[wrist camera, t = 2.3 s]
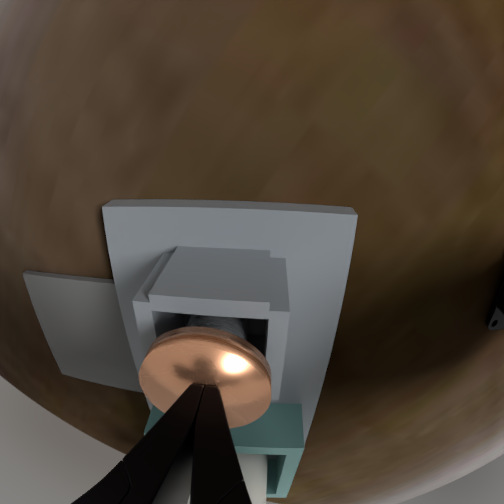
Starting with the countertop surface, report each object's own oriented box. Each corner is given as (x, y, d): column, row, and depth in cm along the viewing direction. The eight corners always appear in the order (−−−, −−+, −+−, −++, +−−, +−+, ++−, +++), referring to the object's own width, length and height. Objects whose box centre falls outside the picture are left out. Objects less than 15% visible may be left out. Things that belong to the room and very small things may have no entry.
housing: (351, 207, 12) (388, 257, 8) (295, 458, 21) (297, 506, 17) (112, 199, 13) (53, 241, 8) (171, 448, 21) (159, 493, 17)
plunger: (274, 260, 12) (276, 350, 8) (269, 340, 14) (267, 432, 9) (173, 255, 12) (125, 337, 8) (182, 333, 14) (152, 420, 9)
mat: (121, 280, 14) (117, 284, 14) (148, 388, 18) (146, 393, 17) (26, 270, 14) (22, 273, 14) (64, 370, 18) (62, 374, 18)
